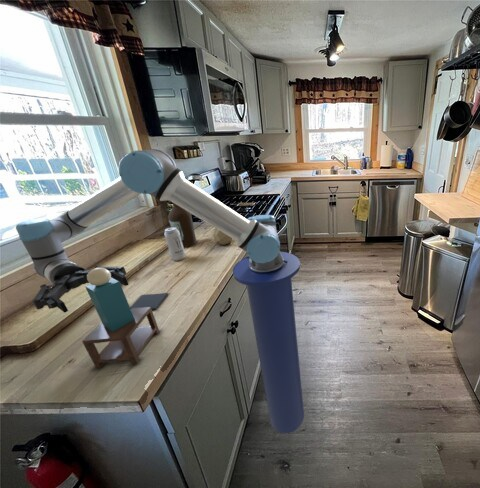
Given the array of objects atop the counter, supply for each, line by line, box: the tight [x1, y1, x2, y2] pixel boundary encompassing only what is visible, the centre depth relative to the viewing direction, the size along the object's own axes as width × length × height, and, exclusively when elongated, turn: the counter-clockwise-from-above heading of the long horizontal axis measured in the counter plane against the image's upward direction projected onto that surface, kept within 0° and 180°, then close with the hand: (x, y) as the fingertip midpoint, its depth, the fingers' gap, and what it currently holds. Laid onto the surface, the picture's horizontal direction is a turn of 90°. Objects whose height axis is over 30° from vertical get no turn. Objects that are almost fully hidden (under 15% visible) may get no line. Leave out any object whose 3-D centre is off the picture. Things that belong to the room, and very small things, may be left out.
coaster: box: [129, 292, 169, 311], centre depth 91 cm, size 9×9×1 cm
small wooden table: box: [82, 307, 160, 369], centre depth 70 cm, size 10×12×9 cm
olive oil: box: [167, 202, 197, 248], centre depth 135 cm, size 11×11×25 cm
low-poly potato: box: [212, 228, 233, 246], centre depth 139 cm, size 15×11×12 cm
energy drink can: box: [163, 226, 186, 262], centre depth 121 cm, size 6×6×15 cm
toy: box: [84, 267, 135, 332], centre depth 65 cm, size 5×5×16 cm
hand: (97, 293), depth 69 cm, fingers open, 13 cm apart
